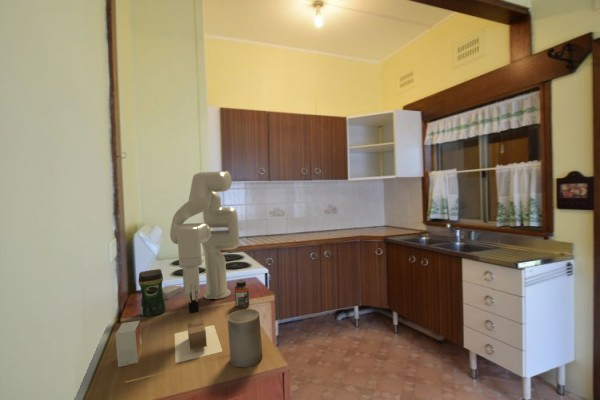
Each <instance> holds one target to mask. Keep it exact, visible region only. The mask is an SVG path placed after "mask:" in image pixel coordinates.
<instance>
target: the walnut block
mask: <svg viewBox="0 0 600 400" xmlns="http://www.w3.org/2000/svg"><path fill="white" fill-rule="evenodd" d="M205 327H206V326H205V325H204V322H203V320H199V321H196V322H195V321H194V322H190V323H187V331H188V337H189V344H190V350H193V349H197V348H202V347H206V346H207V342H206V330H205Z"/></svg>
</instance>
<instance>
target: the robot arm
mask: <svg viewBox="0 0 600 400" xmlns="http://www.w3.org/2000/svg"><path fill="white" fill-rule="evenodd" d="M232 181H233V180H232V175H231V174H230V172H229V171H228V170H226V171H225V170H224V171H204V172H198V173H194V175H193V177H192V180H191V186H190V191H189V195H188V201H187V202H185V203H184V204H182V205H181V206H180V208H179V209H177V210H176V212H175V213H174V215H173V217H172V220H171V225H170V231H169V235H170V236H169V238H170V241H171V242H172V243H173V244H175V245H177V249H178V250H177V252H178V264H179V268H180V269H182V282H183V284H182V285H183V292H184V293H183V294H184V297H185V298H187V297H188V313H189V314H190V315H191V314H196V313H197V314H198V313H199V310H200V309H199V308H200V307H199V299H198V296H199V294H200V291H201V290H200V287H201V286H200V268H199V267H200V266H202V265H203V261H202V249H203V256H204V265H205V266H204V267H205V280H206V281H205V282H206V283H205V284H206V292H204V293H203V298H204V299H206V300H210V299H215V300H220V299H224V298H227V297H229V296H230V295H231V290H230V289H228V283H227V282H228V281H227V279H228V278H227V267H226V266H227V265H226V257H225V256H224V254H223V253H222V252H221V251H227V250H230V251H231V250H236V249H237V248H238V247H239V244H240V235H239V218H238V212H237V210H236V208H234V207H229V206H228V207H222V203H221V200H222V199H221V196H220V194H219V193H220V192H221V193H222V192H228V191H229V190H230V188H231V187H232ZM201 213H202V216H203V222H193V223H185V222H186V221H187V220H188V219H190V218H192V217H194V216H196V215H198V214H201ZM211 228H212V229H215V228H217V229H216V230H212V229H211ZM218 228H219V229H218ZM220 228H227V229H220Z"/></svg>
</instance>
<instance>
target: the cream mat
mask: <svg viewBox="0 0 600 400" xmlns="http://www.w3.org/2000/svg"><path fill="white" fill-rule="evenodd" d="M204 327H205V330H206V342H207V346H206V347H202V348H197V349H193V350H190V344H189V337H188V330H183V331H180V332H176V333H174V354H175V364H177V363H182V362H185V361H189V360H193V359H198V358H202V357H205V356H206V357H207V356H209V355H213V354H214V355H215V354H218V353H222V352H223V349H222V345H221V343H220V340H219V336H218V332H217V330H216V328H215V325H214V324H213V325H208V326H204Z"/></svg>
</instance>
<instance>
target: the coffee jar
mask: <svg viewBox="0 0 600 400" xmlns="http://www.w3.org/2000/svg"><path fill="white" fill-rule="evenodd" d="M137 281H138V285H139V287H140V311H141V312H140V313H141V316H142V317H145V316H147V317H152V315H153V316H156V315H160V314H163V313H165V312H166V310H167V309H166V299H164V295H163V290H162V288H163V281H164V275H163V273H162V269H160V268H157V269H149V270H144V271H143V270H142V271H140V272H139V273H138V280H137Z"/></svg>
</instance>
